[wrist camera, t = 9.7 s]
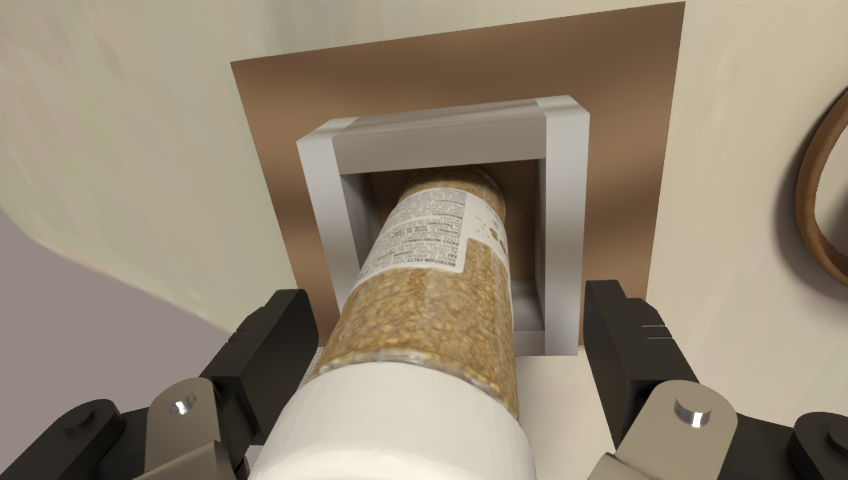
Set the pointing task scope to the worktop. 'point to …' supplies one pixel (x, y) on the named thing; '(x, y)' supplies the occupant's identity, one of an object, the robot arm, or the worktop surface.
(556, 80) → the socket
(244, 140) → the worktop surface
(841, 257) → the place setting
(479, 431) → the sprinkles bottle
